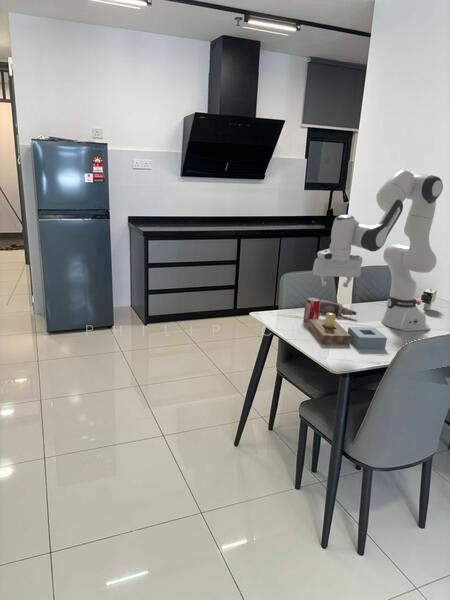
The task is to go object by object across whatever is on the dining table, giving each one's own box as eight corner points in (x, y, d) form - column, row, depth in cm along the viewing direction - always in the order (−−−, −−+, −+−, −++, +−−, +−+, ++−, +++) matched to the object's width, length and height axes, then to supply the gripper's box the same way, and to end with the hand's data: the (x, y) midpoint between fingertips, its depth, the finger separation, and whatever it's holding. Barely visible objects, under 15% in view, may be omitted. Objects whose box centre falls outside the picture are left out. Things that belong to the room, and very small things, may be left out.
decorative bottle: (304, 310, 231) (306, 298, 229) (309, 307, 237) (311, 295, 235) (353, 321, 218) (355, 308, 217) (357, 317, 225) (359, 305, 223)
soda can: (318, 326, 208) (321, 302, 205) (302, 324, 210) (305, 300, 206) (318, 321, 215) (321, 297, 212) (303, 319, 216) (306, 296, 213)
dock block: (372, 340, 195) (374, 327, 193) (384, 351, 184) (387, 337, 182) (346, 339, 194) (348, 326, 192) (357, 350, 182) (359, 337, 181)
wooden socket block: (332, 329, 205) (334, 319, 203) (349, 346, 186) (350, 335, 184) (307, 329, 203) (309, 319, 202) (321, 346, 184) (323, 335, 183)
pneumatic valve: (433, 308, 249) (438, 288, 245) (428, 312, 240) (432, 291, 237) (423, 306, 252) (427, 286, 249) (417, 310, 243) (421, 289, 240)
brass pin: (330, 333, 196) (333, 312, 193) (333, 337, 193) (336, 315, 190) (322, 333, 196) (324, 312, 193) (325, 337, 192) (328, 315, 189)
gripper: (360, 254, 188) (355, 285, 192) (313, 251, 185) (309, 283, 189) (366, 257, 182) (360, 289, 186) (318, 254, 179) (314, 287, 183)
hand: (334, 286), depth 188 cm, fingers open, 8 cm apart
